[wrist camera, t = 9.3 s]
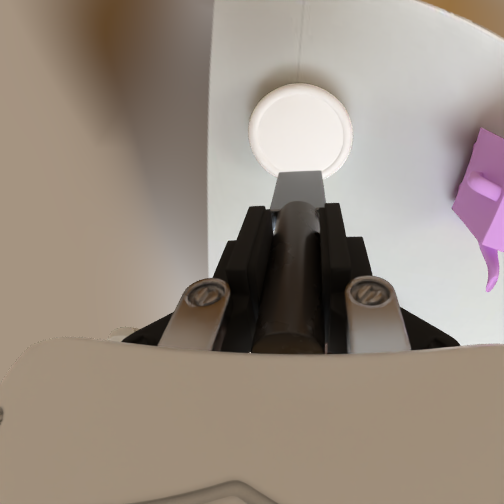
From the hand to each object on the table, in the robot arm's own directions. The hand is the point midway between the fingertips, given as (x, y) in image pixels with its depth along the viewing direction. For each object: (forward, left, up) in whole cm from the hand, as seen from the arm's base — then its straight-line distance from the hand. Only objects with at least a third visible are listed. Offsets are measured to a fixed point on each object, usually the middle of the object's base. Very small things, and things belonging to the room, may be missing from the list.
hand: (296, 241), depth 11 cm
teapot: (+23, -5, -23) cm, 33 cm away
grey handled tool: (0, 0, -7) cm, 7 cm away
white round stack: (0, 0, -23) cm, 23 cm away
